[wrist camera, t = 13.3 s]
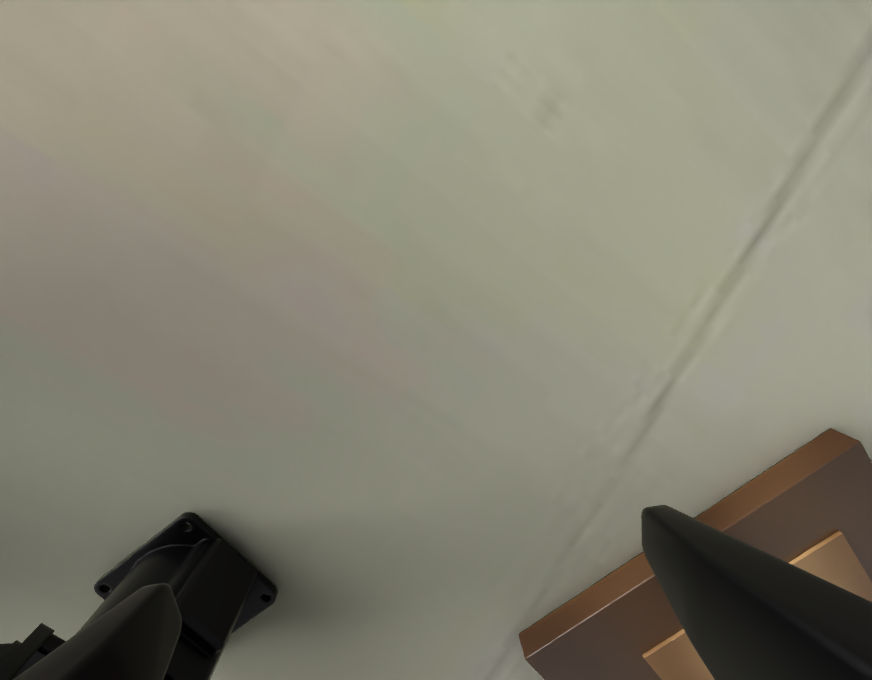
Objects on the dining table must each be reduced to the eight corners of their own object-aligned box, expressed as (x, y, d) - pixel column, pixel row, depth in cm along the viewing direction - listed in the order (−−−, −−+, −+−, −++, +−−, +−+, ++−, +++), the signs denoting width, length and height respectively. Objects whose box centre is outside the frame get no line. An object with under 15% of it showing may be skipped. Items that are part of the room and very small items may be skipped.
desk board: (657, 782, 27) (673, 818, 25) (517, 633, 24) (526, 663, 22) (936, 616, 25) (974, 643, 23) (830, 427, 22) (865, 443, 20)
